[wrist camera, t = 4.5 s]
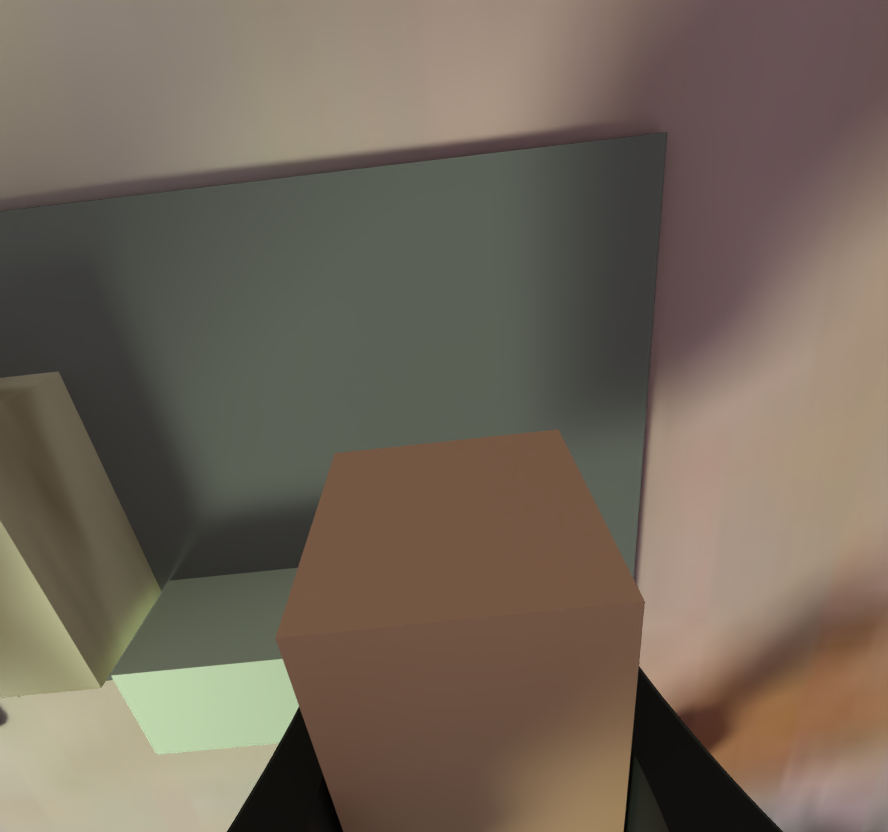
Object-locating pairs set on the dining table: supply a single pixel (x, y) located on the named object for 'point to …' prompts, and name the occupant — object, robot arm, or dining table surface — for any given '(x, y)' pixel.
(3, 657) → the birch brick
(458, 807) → the tan rectangular block
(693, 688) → the dining table surface
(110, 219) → the mat
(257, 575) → the sage brick
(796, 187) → the dining table surface
